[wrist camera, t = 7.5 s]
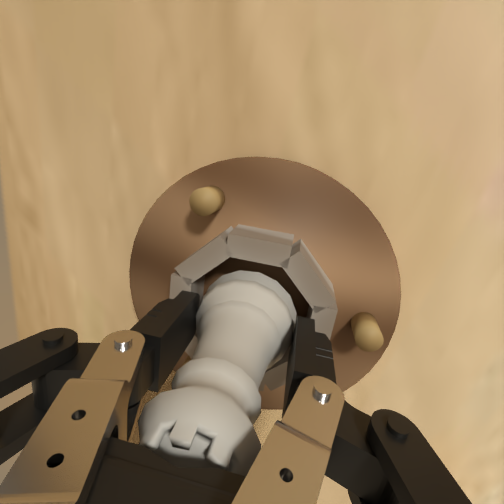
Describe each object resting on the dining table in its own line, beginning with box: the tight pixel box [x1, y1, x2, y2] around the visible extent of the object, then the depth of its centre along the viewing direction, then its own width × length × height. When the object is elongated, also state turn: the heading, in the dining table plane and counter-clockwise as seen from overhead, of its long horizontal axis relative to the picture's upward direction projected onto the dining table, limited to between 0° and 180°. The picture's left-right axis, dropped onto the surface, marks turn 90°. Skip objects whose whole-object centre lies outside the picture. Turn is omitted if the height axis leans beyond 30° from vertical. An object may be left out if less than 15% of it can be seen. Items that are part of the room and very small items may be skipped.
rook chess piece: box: [138, 270, 296, 476], centre depth 10 cm, size 4×4×8 cm
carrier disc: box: [130, 157, 401, 409], centre depth 15 cm, size 14×14×3 cm
